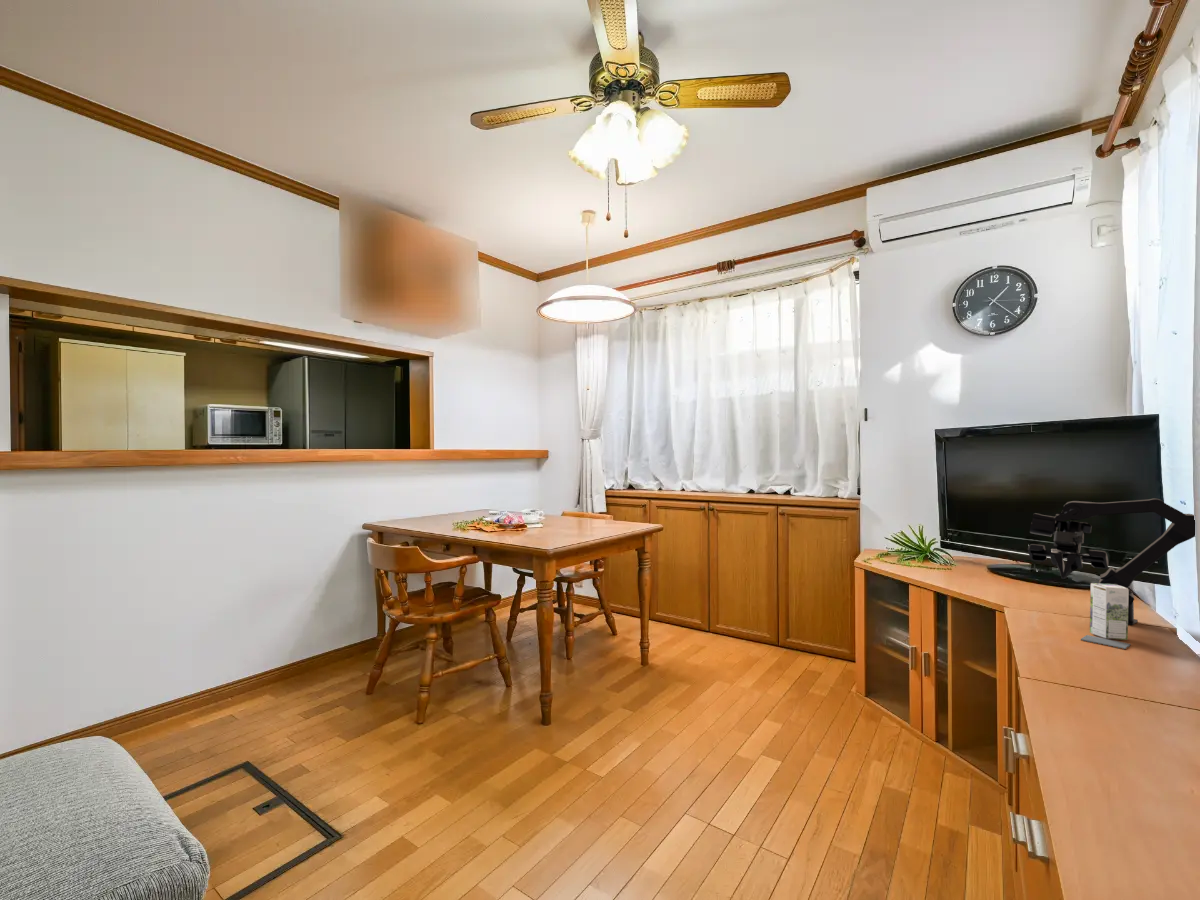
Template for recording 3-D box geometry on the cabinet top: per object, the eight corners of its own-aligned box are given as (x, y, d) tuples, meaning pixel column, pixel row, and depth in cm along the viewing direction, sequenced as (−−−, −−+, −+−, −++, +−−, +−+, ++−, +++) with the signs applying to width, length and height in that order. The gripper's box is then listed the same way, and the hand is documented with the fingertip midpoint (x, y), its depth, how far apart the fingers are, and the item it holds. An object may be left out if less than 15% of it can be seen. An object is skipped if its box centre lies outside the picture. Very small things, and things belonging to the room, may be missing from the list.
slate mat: (1086, 636, 153) (1086, 634, 153) (1130, 645, 146) (1130, 643, 146) (1080, 640, 150) (1080, 638, 150) (1125, 649, 143) (1125, 648, 143)
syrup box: (1111, 634, 155) (1111, 583, 155) (1129, 640, 149) (1129, 587, 149) (1089, 633, 155) (1089, 582, 156) (1106, 639, 149) (1106, 586, 150)
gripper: (1028, 519, 177) (1020, 557, 170) (1106, 524, 163) (1100, 566, 155) (1035, 540, 182) (1027, 578, 175) (1110, 547, 168) (1105, 589, 160)
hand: (1063, 577), depth 166 cm, fingers closed
